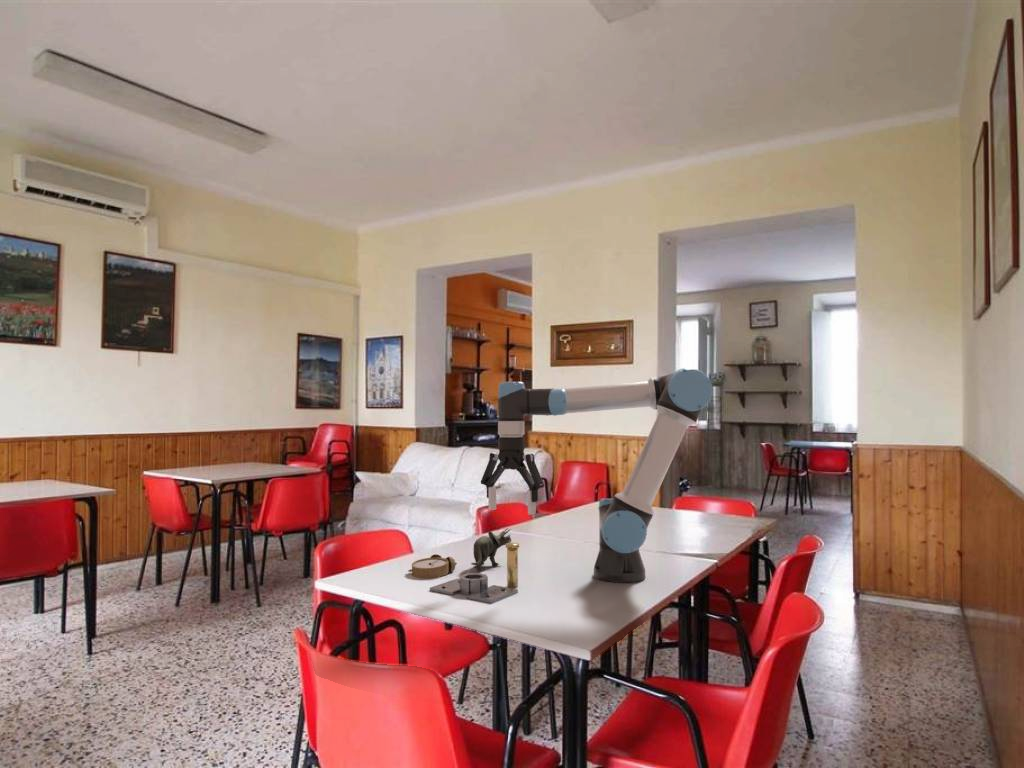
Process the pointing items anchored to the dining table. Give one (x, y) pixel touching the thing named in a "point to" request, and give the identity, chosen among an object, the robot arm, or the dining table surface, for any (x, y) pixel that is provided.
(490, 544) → the dinosaur figurine
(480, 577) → the grey plate with ring
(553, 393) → the robot arm
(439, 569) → the alarm clock
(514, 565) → the pin
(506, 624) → the dining table surface
